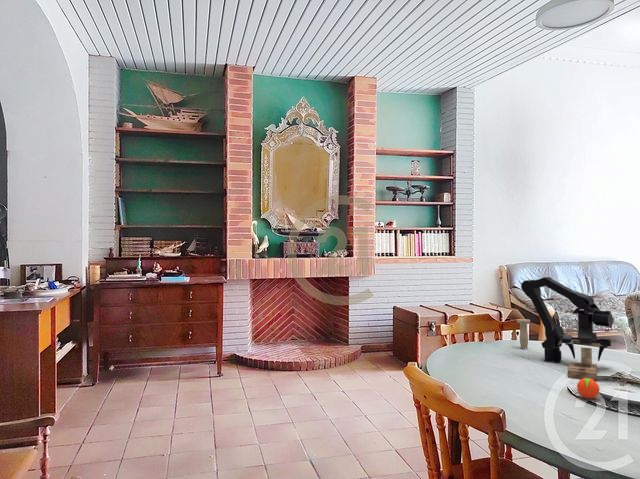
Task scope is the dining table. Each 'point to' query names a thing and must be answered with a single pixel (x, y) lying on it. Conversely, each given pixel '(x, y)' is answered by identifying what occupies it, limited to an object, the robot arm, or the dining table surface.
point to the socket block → (582, 370)
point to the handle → (523, 332)
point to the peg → (586, 355)
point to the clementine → (588, 388)
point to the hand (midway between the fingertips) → (586, 359)
